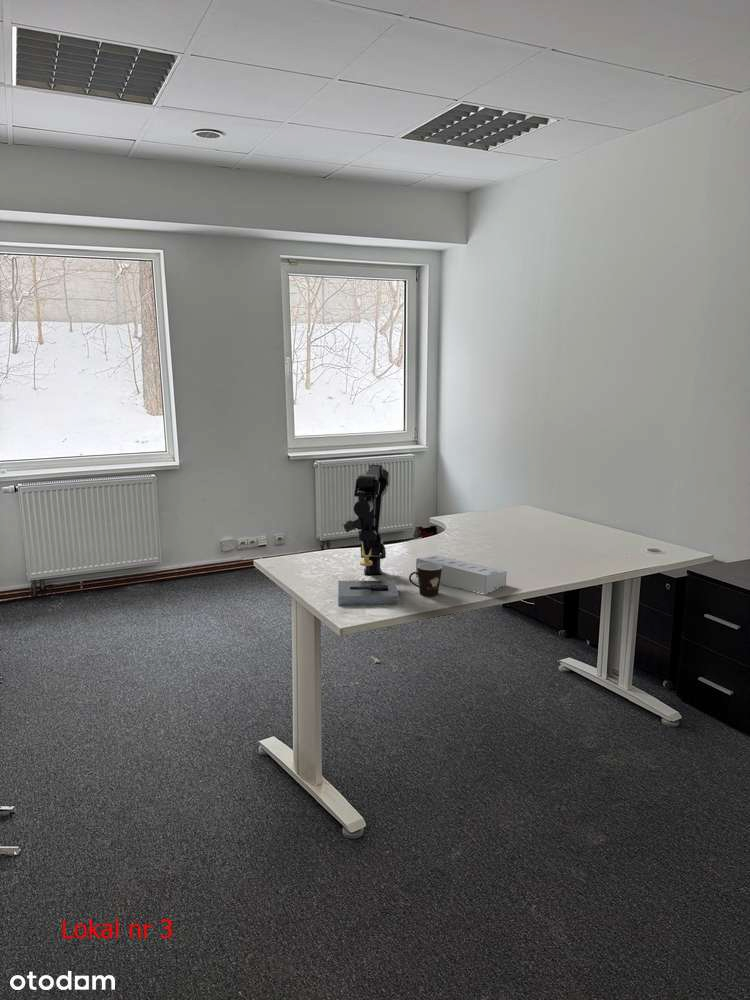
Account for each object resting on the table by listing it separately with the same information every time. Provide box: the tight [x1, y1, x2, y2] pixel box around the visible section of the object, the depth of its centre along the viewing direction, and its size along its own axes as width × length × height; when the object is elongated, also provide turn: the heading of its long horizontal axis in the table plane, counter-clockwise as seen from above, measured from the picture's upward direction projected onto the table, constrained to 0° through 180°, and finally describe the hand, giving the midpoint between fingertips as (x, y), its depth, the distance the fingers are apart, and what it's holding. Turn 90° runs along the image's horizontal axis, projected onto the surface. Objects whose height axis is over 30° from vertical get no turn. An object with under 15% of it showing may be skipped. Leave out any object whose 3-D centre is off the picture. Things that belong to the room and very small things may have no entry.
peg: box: [359, 541, 373, 567], centre depth 249 cm, size 4×4×10 cm
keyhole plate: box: [337, 580, 400, 606], centre depth 238 cm, size 16×20×3 cm
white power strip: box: [415, 555, 508, 594], centre depth 256 cm, size 30×14×8 cm, turn 50°
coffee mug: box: [408, 563, 442, 598], centre depth 242 cm, size 12×9×10 cm
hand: (366, 553), depth 249 cm, fingers closed on peg, 3 cm apart
